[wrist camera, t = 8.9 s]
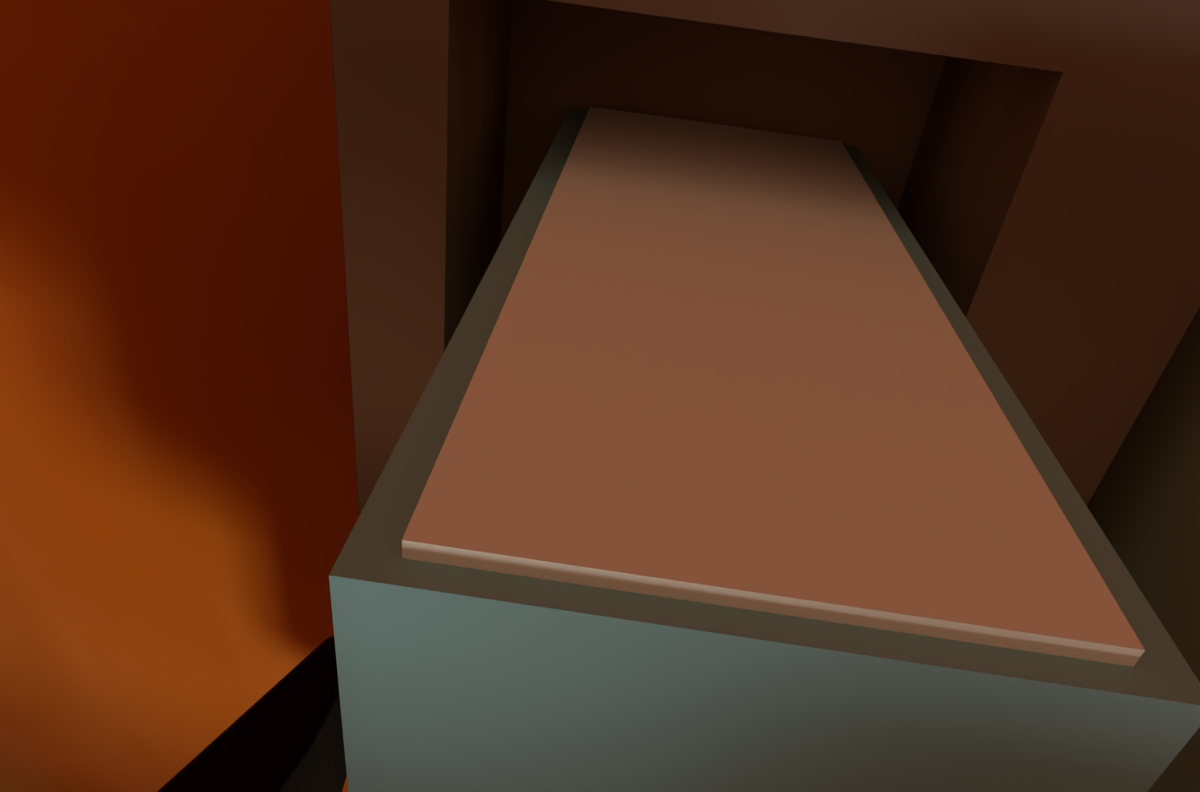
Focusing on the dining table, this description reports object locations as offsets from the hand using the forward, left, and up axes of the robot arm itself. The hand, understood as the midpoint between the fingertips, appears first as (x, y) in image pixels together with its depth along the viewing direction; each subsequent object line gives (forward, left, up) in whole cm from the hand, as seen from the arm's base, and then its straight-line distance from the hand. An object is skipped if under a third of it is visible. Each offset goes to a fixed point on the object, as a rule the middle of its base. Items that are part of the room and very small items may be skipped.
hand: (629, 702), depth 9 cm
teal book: (0, 0, -4) cm, 4 cm away
